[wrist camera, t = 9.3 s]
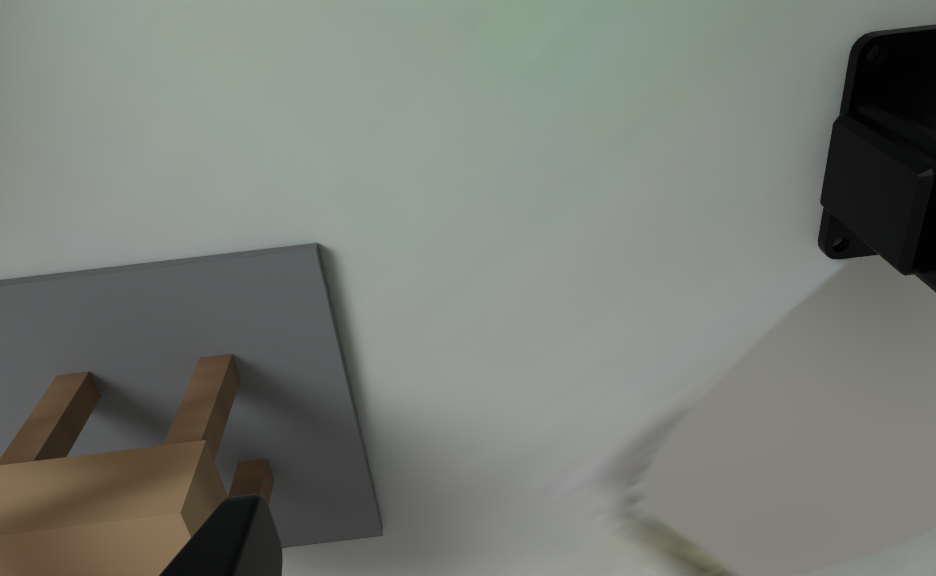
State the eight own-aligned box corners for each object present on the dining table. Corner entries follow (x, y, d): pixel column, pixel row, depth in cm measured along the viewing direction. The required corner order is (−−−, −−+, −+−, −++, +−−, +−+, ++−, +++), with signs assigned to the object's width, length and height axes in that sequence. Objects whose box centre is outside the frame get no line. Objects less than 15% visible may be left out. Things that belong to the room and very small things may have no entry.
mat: (317, 242, 21) (316, 249, 21) (382, 527, 27) (382, 535, 27) (-99, 291, 21) (-107, 299, 21) (62, 565, 27) (57, 574, 27)
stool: (239, 344, 22) (180, 513, 16) (285, 484, 25) (248, 667, 20) (43, 369, 22) (-84, 545, 16) (112, 506, 25) (26, 695, 20)
